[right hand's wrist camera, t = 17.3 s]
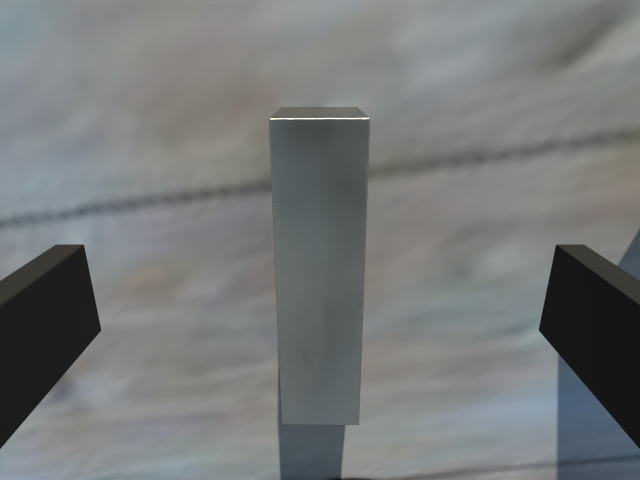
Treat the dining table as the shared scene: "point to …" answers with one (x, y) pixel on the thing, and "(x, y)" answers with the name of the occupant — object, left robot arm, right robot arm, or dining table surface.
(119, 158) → the dining table surface
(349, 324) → the box
